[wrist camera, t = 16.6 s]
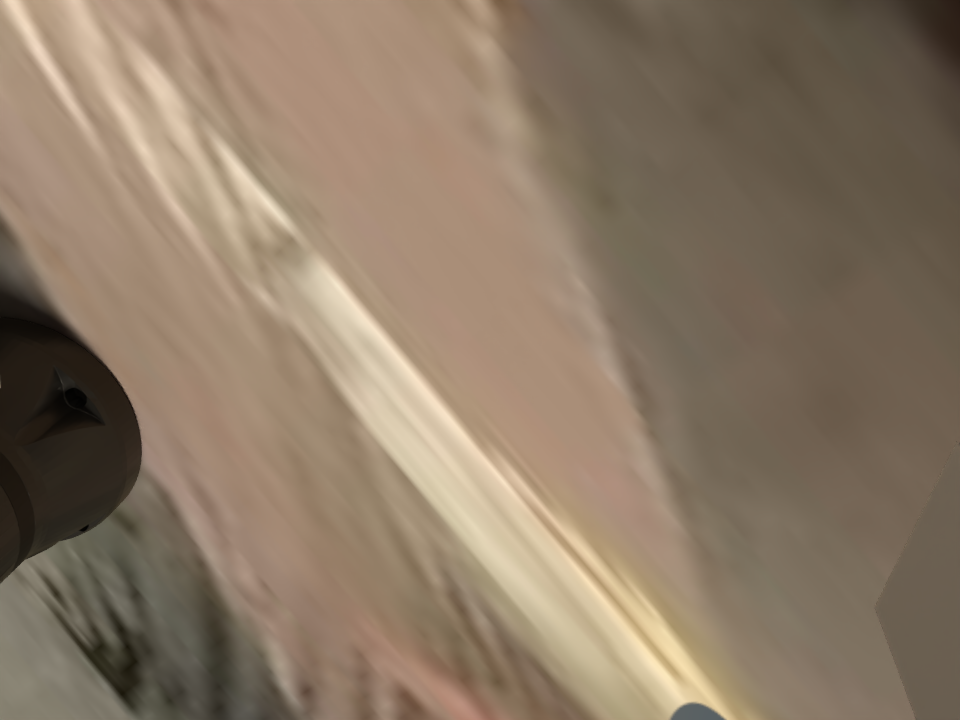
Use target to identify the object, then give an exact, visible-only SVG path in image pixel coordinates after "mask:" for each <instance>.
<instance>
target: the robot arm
mask: <svg viewBox="0 0 960 720" xmlns="http://www.w3.org/2000/svg"><path fill="white" fill-rule="evenodd" d="M141 456H142V447H141V437H140V432H139V428H138V424H137V421H136V418H135V415H134V413H133V410H132V408H131V406H130V404H129V402H128V400H127V398H126V396H125V394H124V393H123V391H122V390H121V388H120V387H119V385H118V384H117V382H116V381H115V380H114V378H113V377H112V376H111V375H110V373H109V372H108V371H107V370H106V369H105V368H104V367H103V366H102V365H101V364H100V363H99V362H98V361H97V360H96V359H95V358H94V357H93V356H92V355H91V354H89V353H88V352H87V351H86V350H84V349H83V348H82V347H80V346H79V345H78V344H76V343H75V342H73V341H72V340H70V339H68V338H67V337H65V336H63V335H61V334H59V333H57V332H55V331H53V330H51V329H49V328H46V327H44V326H41V325H38V324H35V323H31V322H28V321H23V320H18V319H11V318H0V583H1V582H2V581H3V580H4V579H5V578H6V577H8V576H9V575H10V574H11V573H12V572H13V571H14V570H15V569H16V568H17V567H18V566H19V565H20V564H21V563H22V562H23V561H24V560H25V559H28V558H30V557H32V556H34V555H36V554H39V553H41V552H43V551H45V550H47V549H48V548H50V547H52V546H53V545H55V544H56V543H58V542H59V541H62V540H67V539H70V538H73V537H76V536H79V535H81V534H83V533H85V532H87V531H89V530H91V529H92V528H94V527H96V526H97V525H98V524H100V523H101V522H102V521H104V520H105V519H106V518H107V517H108V516H109V515H110V514H111V513H112V512H113V511H114V510H115V509H116V508H117V507H118V506H119V504H120V503H121V502H122V501H123V500H124V499H125V498H126V497H127V496H128V494H129V493H130V491H131V490H132V488H133V486H134V484H135V482H136V480H137V477H138V474H139V470H140V465H141ZM875 610H876V613H877V616H878V618H879V621H880V624H881V626H882V629H883V632H884V634H885V637H886V640H887V643H888V645H889V648H890V651H891V653H892V656H893V659H894V661H895V664H896V667H897V669H898V672H899V675H900V678H901V680H902V683H903V686H904V688H905V691H906V694H907V696H908V699H909V702H910V705H911V707H912V710H913V713H914V715H915V718H916V720H960V442H956V444H955V446H954V448H953V450H952V452H951V454H950V456H949V458H948V460H947V462H946V464H945V466H944V468H943V470H942V472H941V474H940V476H939V478H938V480H937V482H936V484H935V486H934V488H933V490H932V492H931V495H930V497H929V499H928V501H927V503H926V505H925V507H924V509H923V511H922V513H921V515H920V517H919V519H918V521H917V523H916V525H915V527H914V529H913V531H912V533H911V535H910V537H909V539H908V541H907V543H906V545H905V547H904V549H903V551H902V553H901V555H900V557H899V559H898V561H897V563H896V565H895V567H894V569H893V571H892V573H891V575H890V577H889V579H888V581H887V583H886V585H885V587H884V589H883V591H882V593H881V595H880V597H879V599H878V601H877V603H876V605H875Z"/></svg>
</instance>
